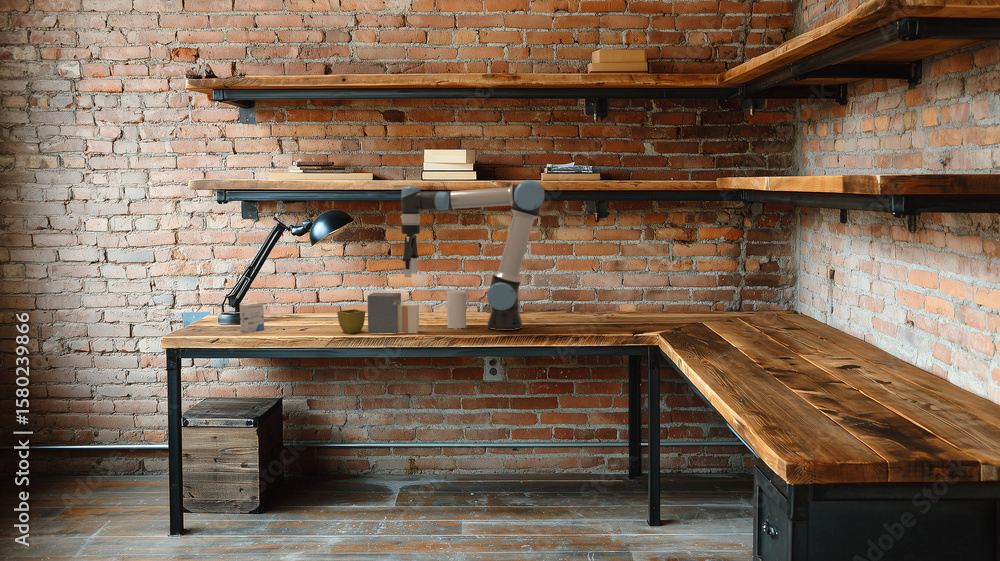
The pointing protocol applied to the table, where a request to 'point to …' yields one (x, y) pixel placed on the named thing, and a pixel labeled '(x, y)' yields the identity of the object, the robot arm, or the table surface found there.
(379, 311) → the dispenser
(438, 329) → the table surface
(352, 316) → the flower pot
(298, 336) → the table surface
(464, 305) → the cup
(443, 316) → the table surface
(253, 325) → the ink box
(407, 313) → the striped beige block
